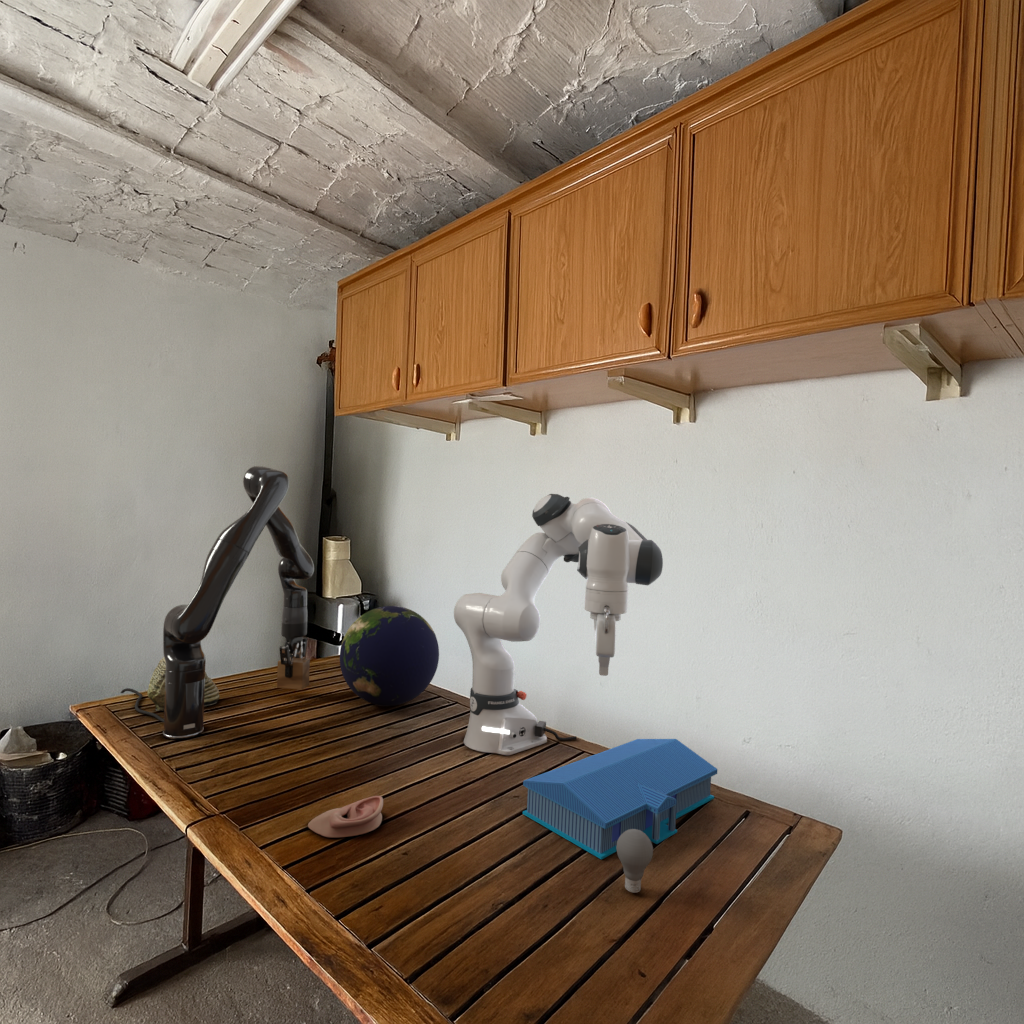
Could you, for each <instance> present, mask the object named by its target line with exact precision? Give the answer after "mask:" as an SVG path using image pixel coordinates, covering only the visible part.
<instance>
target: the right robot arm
mask: <svg viewBox="0 0 1024 1024" xmlns="http://www.w3.org/2000/svg"><path fill="white" fill-rule="evenodd" d="M531 518H532V519H533V521H534V523H535V524H536V525H537V526H538V527H540V529H541V530H542V532H535V533H533V534H532V535H530V536H529V537H528V538H527V539H526V540H525V541H523V543H522V544H521V545H520V546H519V548H518V549H517V550H516V551H515V553H514V554H513V556H512V557H511V559H510V560H509V561H508V563H507V564H506V566H505V567H504V569H503V570H502V572H501V574H500V582H501V585H502V588H503V589H504V590H505V591H504V593H502V594H500V595H495V594H489V593H483V592H474V593H466V594H463V595H461V596H460V597H459V598H458V599H457V601H456V603H455V605H454V608H453V618H454V622H455V624H456V626H458V628H459V629H460V630H461V631H462V633H463V634H464V637H465V639H466V641H467V644H468V647H469V650H470V651H469V652H470V655H471V661H472V679H471V680H472V684H471V688H470V692H469V694H470V695H469V711H470V712H469V718H468V724H467V728H466V733H465V735H464V739H463V744H464V745H465V747H467V748H469V749H470V750H474V751H476V752H481V753H488V754H490V753H491V754H498V755H503V756H512V755H514V754H517V753H520V752H523V751H526V750H529V749H532V748H535V747H538V746H541V745H544V744H546V743H548V737H547V735H546V734H545V733H548V734H552V735H553V736H554V737H555V739H556V740H557V741H562V742H567V741H572V740H574V741H575V740H577V736H576V735H575V736H569V737H561V736H559V734H558V733H557V732H556V731H554V730H552V729H549V728H547V721H544V720H539V721H538V718H537V717H536V715H535V714H534V713H533V712H532V711H531V710H529V709H528V708H527V707H525V706H524V705H523V704H522V703H521V702H520V700H521V701H525V700H526V699H527V697H528V695H527V693H526V691H525V692H524V691H523V690H517V688H515V675H516V674H515V673H516V672H515V669H516V663H515V659H514V657H513V656H512V654H510V652H509V651H507V649H506V648H505V646H504V644H503V642H502V640H503V641H507V642H512V643H513V642H514V643H518V642H519V643H520V642H529V641H532V640H533V638H535V637H536V636H537V634H538V633H539V631H540V629H541V628H540V627H541V624H542V623H541V622H542V619H541V613H540V611H539V609H538V607H537V605H536V603H535V601H536V597H537V594H538V592H539V591H540V588H541V587H542V585H543V583H544V582H545V580H546V578H547V577H548V575H549V574H550V572H551V570H552V568H553V566H554V565H555V563H556V562H557V561H558V560H559V559H560V558H562V557H563V562H565V563H570V562H571V563H572V562H573V563H578V564H577V569H576V571H577V573H579V574H580V575H581V576H582V578H584V579H585V580H586V583H585V592H584V610H585V611H586V612H589V613H590V614H589V618H590V619H591V620H593V628H594V640H595V641H594V642H595V643H594V644H595V655H596V657H598V659H597V660H598V665H599V666H598V667H599V668H598V674H599V676H602V677H606V676H608V675H609V667H610V662H611V658H614V657H615V654H616V653H615V652H616V636H617V635H616V633H617V630H616V629H617V622H620V621H621V620H622V615H623V614H626V613H628V603H629V602H628V601H629V585H628V584H635V585H641V586H650V585H652V584H653V583H654V582H656V581H657V580H658V579H659V578H660V577H661V575H662V573H663V566H664V561H663V560H664V559H663V553H662V550H661V548H660V547H659V546H658V544H657V543H656V542H654V540H652V539H647V538H646V537H645V536H644V535H643V534H642V532H640V531H639V530H638V529H637V528H636V527H635V526H634V525H633V524H631V523H629V522H627V521H625V520H623V519H622V518H620V517H618V516H616V515H615V514H614V513H612V511H611V510H610V508H609V507H608V506H607V504H606V503H604V502H603V501H601V500H600V499H598V498H596V497H591V496H590V497H585V498H582V499H581V500H579V501H577V502H576V503H573V502H572V501H571V500H570V497H569V496H563V495H561V494H559V493H549V494H547V495H545V496H543V497H542V498H541V499H539V500H538V502H536V504H535V506H534V508H533V510H532V514H531ZM519 699H520V700H519Z"/></svg>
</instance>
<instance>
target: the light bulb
mask: <svg viewBox="0 0 1024 1024" xmlns="http://www.w3.org/2000/svg"><path fill="white" fill-rule="evenodd" d="M616 849H617V851H616V854H617V857H618V859H619V861H620V863H621V865H622V867H623V873H624V874H623V875H624V876H625V878H624V888H625V890H627V891H628V892H630V893H634V894H635V893H639V892H640V891H641V889H642V887H641V886H642V879H643V877H644V875H645V871H646V868H647V867H648V866H649V864H650V863H651V861H652V859H653V855H654V847H653V842H651V841H650V839H649V838H648V836H647V835H646V834H645V833H644V832H642V831H640V830H637V829H629V830H627V831H625V832H623V833H622V834H621V835H620V837H619V839H618V841H617V846H616Z"/></svg>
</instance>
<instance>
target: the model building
mask: <svg viewBox="0 0 1024 1024" xmlns="http://www.w3.org/2000/svg"><path fill="white" fill-rule="evenodd" d="M715 775H718V768H717V767H715V766H714V765H713V764H711V763H710V762H709V761H708V760H706V759H705V758H703V757H702V756H700V755H699V754H697V753H696V752H695V751H693V750H692V749H691V748H689V747H688V746H686V745H685V744H684V743H683V742H682V741H680V740H679V739H677V738H637V739H633V740H631V741H628V742H626V743H622V744H619V745H618V746H614V747H612V748H609V749H606V750H604V751H601V752H598V753H595V754H593V755H590V756H587V757H585V758H582V759H578V760H576V761H573V762H571V763H567V764H565V765H563V766H559V767H557V768H555V769H552V770H549V771H546V772H543V773H541V774H538V775H535V776H532V777H529V778H527V779H524V780H523V781H522V786H523V787H525V788H526V789H527V799H526V800H527V801H526V809H525V810H523V811H522V815H524V816H525V817H527V818H529V819H531V820H532V821H534V822H535V823H538V824H540V826H543V827H544V828H545V829H547V830H549V831H552V833H554V834H557V835H558V836H560V837H562V838H564V839H565V840H567V841H569V842H570V843H572V844H574V845H576V846H577V847H579V848H581V849H582V850H584V851H586V852H587V853H589V854H591V855H592V856H594V857H596V858H598V859H600V860H603V859H605V858H607V857H609V856H611V855H613V854H615V853H617V849H616V846H617V841H618V839H619V837H620V835H621V834H622V833H623V832H625V831H627V830H629V829H637V830H640V831H642V832H644V833H645V834H646V835H647V836H648V838H649V839H650V841H651V843H652V844H656V845H658V844H660V843H662V842H663V841H665V840H666V839H668V838H670V837H671V836H673V835H676V834H677V833H678V829H677V828H676V822H677V819H679V818H680V817H683V816H684V815H686V814H688V813H690V812H692V811H693V810H695V809H697V808H699V807H701V806H702V805H704V804H707V803H708V802H710V801H712V800H714V799H715V795H713V794H711V787H712V777H714V776H715Z"/></svg>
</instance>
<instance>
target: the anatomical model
mask: <svg viewBox="0 0 1024 1024" xmlns="http://www.w3.org/2000/svg"><path fill="white" fill-rule="evenodd" d="M383 807H384V798H383V796H381V795H373V796H369V797H365V798H363V799H359V800H357V801H355V802H352V803H349V804H347V805H344V806H341V807H337V808H333V809H329V810H326V811H324V812H322V813H320V814H319V815H317V816H315V817H314V818H312V819H311V820H310V821H309V822H308V824H307V828H308V829H310V830H311V831H312V832H314V833H316V834H318V835H320V836H322V837H324V838H332V839H333V838H346V837H354V836H359V835H364V834H367V833H369V832H372V831H374V830H376V829H377V828H379V827H380V826H381V824H382V822H383V813H382V810H383Z"/></svg>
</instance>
